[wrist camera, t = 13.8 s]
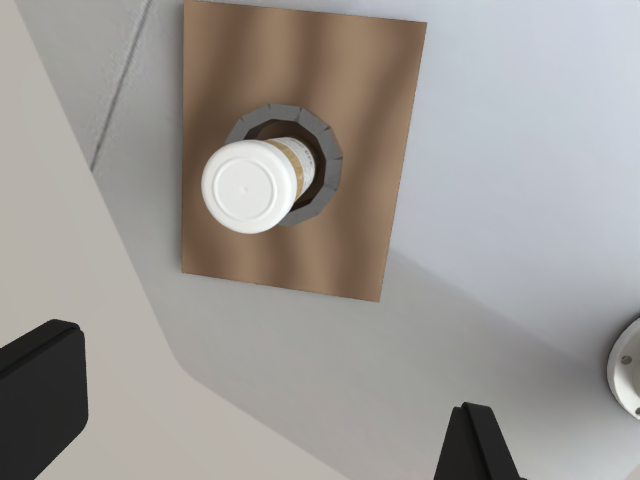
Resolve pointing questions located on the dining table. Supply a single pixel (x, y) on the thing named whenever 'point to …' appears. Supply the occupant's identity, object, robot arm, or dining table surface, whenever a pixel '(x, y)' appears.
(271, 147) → the sprinkles bottle
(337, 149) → the collar
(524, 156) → the dining table surface
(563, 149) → the dining table surface
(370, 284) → the socket board
